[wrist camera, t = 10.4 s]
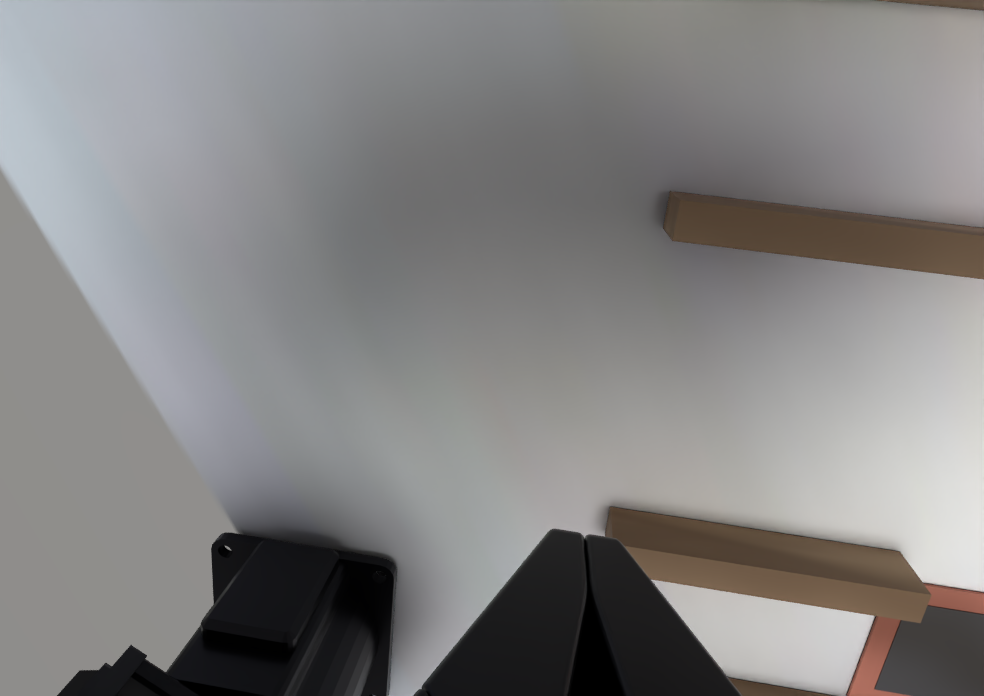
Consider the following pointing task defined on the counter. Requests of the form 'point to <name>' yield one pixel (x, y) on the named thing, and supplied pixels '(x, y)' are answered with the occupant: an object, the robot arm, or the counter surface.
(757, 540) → the brown bars
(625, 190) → the counter surface
